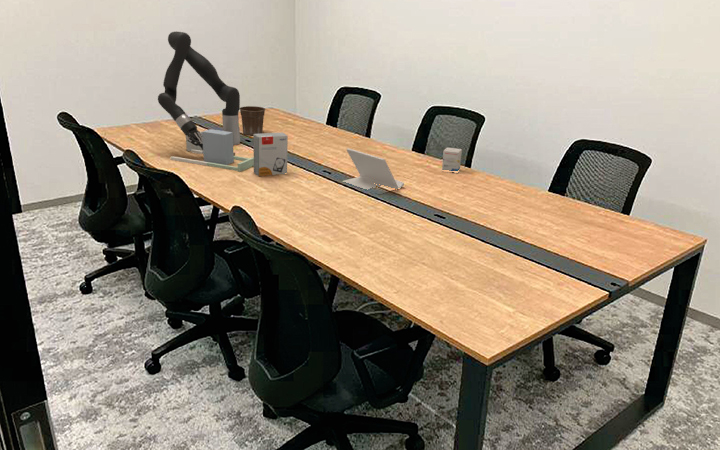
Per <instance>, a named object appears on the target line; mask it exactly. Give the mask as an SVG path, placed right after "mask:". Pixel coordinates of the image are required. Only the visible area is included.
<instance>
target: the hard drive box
mask: <svg viewBox="0 0 720 450" xmlns="http://www.w3.org/2000/svg"><path fill="white" fill-rule="evenodd" d="M252 136H253V137H252V138H253V139H252V140H253V142H252V143H253V144H252V145H253V150H252V151H253V157H254V166H253V173H254V174H255V175H256V176H257V177H267V175H268V176H277V175H276V174H282V175H286V174H285V173H287V174H288V142H289V141H288V140H289V139H288V137H289V136H288V134H286V133H284V132H268V133H267V132H264V133H263V132H262V134H253V135H252Z"/></svg>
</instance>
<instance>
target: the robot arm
mask: <svg viewBox="0 0 720 450" xmlns="http://www.w3.org/2000/svg"><path fill="white" fill-rule="evenodd" d="M167 42H168V45H169V46H170V48H172V49H173V50H174V55H173V58H172V60H171V61H170V63H169V65H168V66H167V69H166V72H165V74H164V80H163V82H162V83H163V88H164V92H161V93H159V95H158V96H157V101H158V104H159V106H161V108H163V110H164V111H166V113H168V114H169V115H170V117H171V118H172V120H173V121H174V122H175V124H176V125H177V127H178V128H179V129H180V130H181V131H182V133H183V134H184V135H185V137H186V136H187V135H188V137H189V138H188V140H187V141H188V142H190V143H192V144H194V145H195V146H200V147H201V148H202V151H203V138H202V134H201V133H200V132H199V130H198V126H197V125H196V124H195V122H194V121H193V120H192V118H191V117H190V116H189V115H188V114H187V113H186V112H185V110H184V109H183V108H182V107H181V106H180V105H178V104H177V103H176V101H177V96H178V95H177V94H178V92H177V90H178V84H179V79H180V76H181V72H182V69H183V66H184V63H185V61H186V62H187V63H188V64H189V66H190V67H191V68H192V69H193V70H194V71H195V73H196V74H197V75H198V76H199V77H200V78H201V79H202V80H204V82H205V83H206V84H208V86H209V87H211V89H212V90H213V91H214V92H215V94H216V95H217V97H218V98H219V99H220V100H221V101H222V102H225V108H223V109H222V110H221V115H222V117H221V118H222V131H226V132H233V146H236V145H239V144H240V143H241V132H240V131H241V129H240V121H239V111H240V108H241V106H240V104H241V100H240V99H241V97H240V92H239V90H238V88H236V87H233V86H230V85H228V84H226V83H225V82H224V81H223V80H222V79H221V77H220V76H219V74H218V71H217V68H215V66H214V65H213V64H212V63H211V62H210V61H209V60H208V59H207V57H205V56H204V55H202V54H201V53H200V52H198V51H196V50H195V49H194V48H193V47H192V46H191V44H192V39H191V36H190V35H189V33H186V32H184V31H172V32H170V33H169V34H168V36H167ZM194 142H195V143H194Z"/></svg>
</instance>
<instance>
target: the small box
mask: <svg viewBox="0 0 720 450" xmlns="http://www.w3.org/2000/svg"><path fill="white" fill-rule="evenodd" d="M198 131H199V130H198ZM199 132H200V133H201V134H202V132H203V131H201V130H200V131H199ZM188 138H189V137H188V135H187V136H186V135H185V143H186V144H185V145H186V152H191V150H192V149H194V150H200V151H203V150H202V148H201V147H200V146H195V145H194V144H192V143H190V142H188V141H187V140H188ZM194 143H195V142H194Z"/></svg>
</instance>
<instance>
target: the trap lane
mask: <svg viewBox="0 0 720 450" xmlns="http://www.w3.org/2000/svg"><path fill="white" fill-rule="evenodd" d="M190 153H193V154H199V155H203V150H202V151H200V150H194V149H192V150H191V151H190ZM169 159H170V160H171V161H177V162H182V163H187V164H189V163H190V164H195V165H200V166H207V167H212V168H219V169H224V170H230V171H231V170H232V171H237V172H239V173H240V172H243V171H245V170H248V169H250V168H252V167H254V156H252V157H250V158H249V157H243V156H238V155H236V153H235V152H234V161H235V160H237V161H241V162H238V163H237V165H236V166H234V165H233V166H232V165H229V164H228V165H222V164H216V163H210V162H204V160H197V159H191V158H184V157H180V156H172V155H171V156H170V158H169Z"/></svg>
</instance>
